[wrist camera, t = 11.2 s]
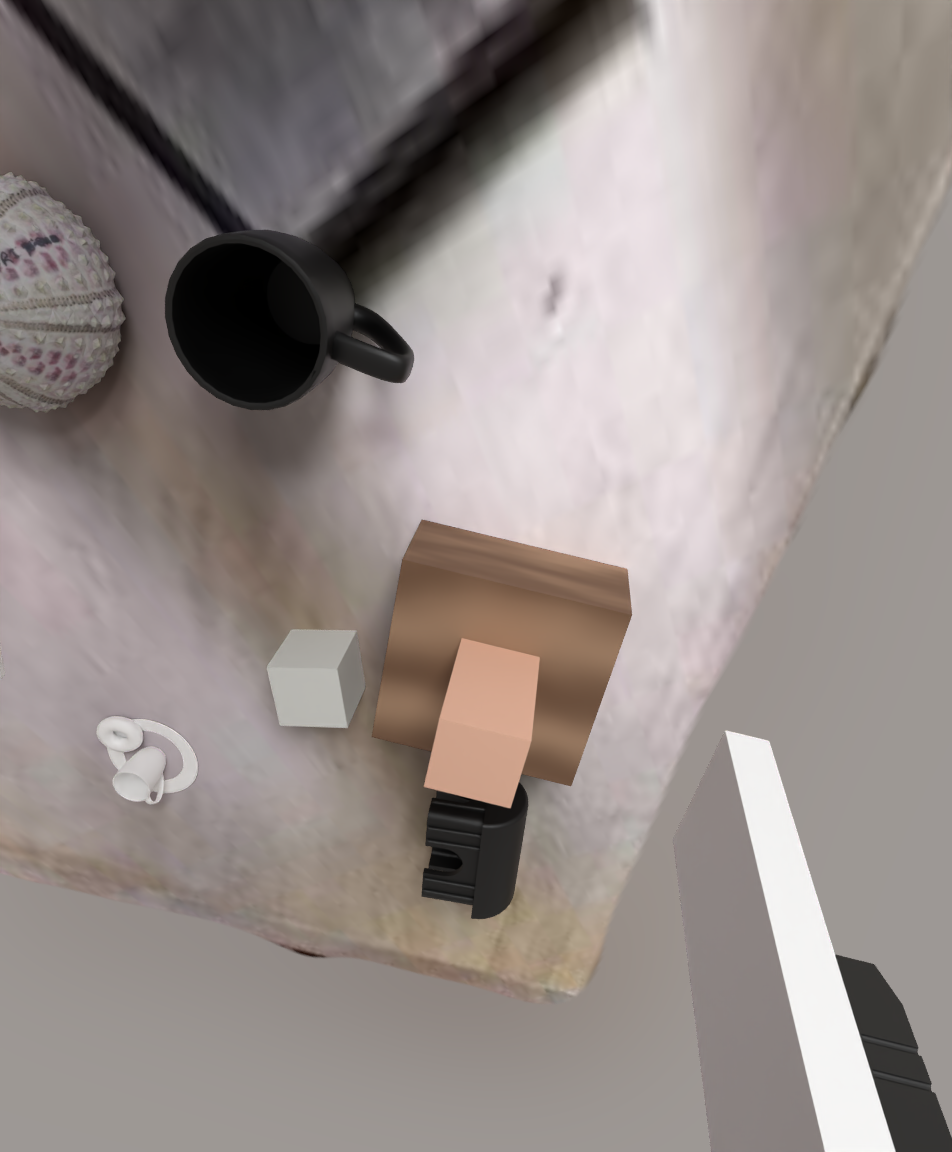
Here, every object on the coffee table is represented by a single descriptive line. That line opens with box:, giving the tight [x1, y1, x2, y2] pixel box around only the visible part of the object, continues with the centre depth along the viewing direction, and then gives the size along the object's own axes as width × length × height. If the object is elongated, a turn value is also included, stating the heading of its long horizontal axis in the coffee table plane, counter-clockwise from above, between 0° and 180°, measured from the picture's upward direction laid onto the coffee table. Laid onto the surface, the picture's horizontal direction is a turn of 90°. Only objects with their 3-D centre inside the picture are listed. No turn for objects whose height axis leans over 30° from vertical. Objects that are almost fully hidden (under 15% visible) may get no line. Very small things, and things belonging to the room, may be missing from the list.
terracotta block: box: [424, 638, 540, 808], centre depth 45 cm, size 5×5×8 cm
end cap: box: [422, 782, 528, 919], centre depth 59 cm, size 10×7×7 cm
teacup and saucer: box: [96, 716, 198, 804], centre depth 62 cm, size 9×8×4 cm
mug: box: [165, 230, 414, 410], centre depth 40 cm, size 8×12×10 cm
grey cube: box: [267, 630, 366, 728], centre depth 54 cm, size 5×5×5 cm
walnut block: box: [372, 520, 632, 786], centre depth 51 cm, size 14×14×6 cm
